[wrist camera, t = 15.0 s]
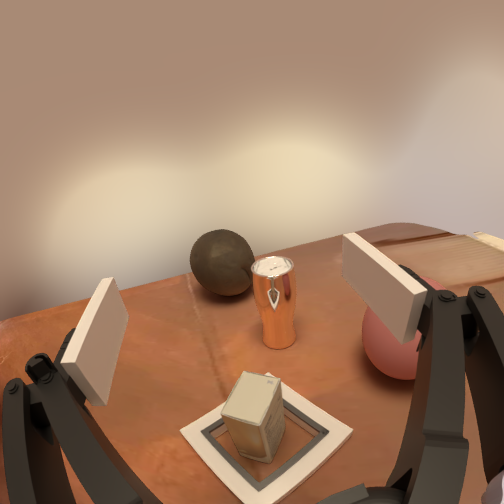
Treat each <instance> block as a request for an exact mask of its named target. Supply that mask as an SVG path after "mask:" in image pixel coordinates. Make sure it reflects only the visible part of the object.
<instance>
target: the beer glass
mask: <svg viewBox="0 0 504 504" xmlns="http://www.w3.org/2000/svg"><path fill="white" fill-rule="evenodd" d="M251 271H252V287H253V294H254V299H255V303H256V306H257V309H258V312H259V314H260V317H261V320H262V323H263V337H262V338H263V342H264V344H265V345H266V346H268V347H270V348H273V349H283V348H287V347H289V346H290V345H292V344H293V343H294V342H295V339H296V333H295V330H294V327H293V317H294V310H295V304H296V295H297V289H296V277H295V271H294V263H293V261H292V260H290V259H289V258H286V257H282V256H270V257H265V258H262V259H259V260H257V261H256V262H254V263H253V265H252V266H251Z"/></svg>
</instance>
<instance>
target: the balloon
mask: <svg viewBox="0 0 504 504" xmlns="http://www.w3.org/2000/svg"><path fill="white" fill-rule="evenodd" d="M420 278H422V279H423V280H425V281H426V282H427V283H428V284H429V285H431V286H432V287H433V288H434V289H436V290H446V289H445V288H444V287H443V286H442V285H441V284H439V283H438V282H436V281H434V280H432V279H430V278H427V277H422V276H420ZM421 335H422V334H421V333H420V332H419V331H418V330H417V331H416V335H415V338H414V340H412V341H409V342H407V343H405V344H402V345H401V344H400V342H399V341H398V340H397V339H396V338H395V336H394V335H393V334H392V333H391V332H390V330H389V329H388V328H387V327H386V326H385V325H384V323H383V322H382V321H381V320H380V319H379V318H378V316H377V315H376V314H375V313H374V312H373V311H372V309H371V308H370V307H369V306H368V307H367V310H366V312H365V315H364V319H363V324H362V340H363V345H364V348H365V351H366V354H367V356H368V357H369V359H370V361H371V362H372V363H373V365H374V366H375V367H376V368H377V369H379V370H380V371H381V372H383V373H384V374H386V375H388V376H390V377H393V378H396V379H403V380H411V379H415V377H416V370H417V362H418V353H419V351H418V352H416V350H417V347H418V344H419V341H420V338H421Z"/></svg>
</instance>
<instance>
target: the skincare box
mask: <svg viewBox="0 0 504 504" xmlns="http://www.w3.org/2000/svg"><path fill="white" fill-rule="evenodd" d="M220 414H221V416H222V418H223V421H224V423H225V425H226V427H227V429H228V431H229V433H230V435H231V438H232V440H233V442H234V444H235V446H236V448H237V450H238V452H239V454H240V455H241V456H244V457H247V458H250V459H253V460H256V461H260V462H263V463H267V464H270V463H271V462H272V460H273V458H274V456H275V453H276V451H277V449H278V446H279V444H280V441H281V439H282V436H283V433H284V431H285V419H284V409H283V399H282V389H281V379H280V378H276V377H272V376H267V375H262V374H258V373H253V372H247V371H244V372H243V373H242V374H241V376H240V378H239V379H238V381H237V383H236V384H235V386H234V388H233V390H232V392H231V393H230V395H229V397H228V399H227V401H226V403H225V405H224V406H223V409H222V410H221V412H220Z"/></svg>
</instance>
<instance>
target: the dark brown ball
mask: <svg viewBox="0 0 504 504" xmlns="http://www.w3.org/2000/svg"><path fill="white" fill-rule="evenodd" d="M254 262H255V259H254V256H253V252H252V250H251V248H250V246H249V245H248V243H247V242H246V240H245V239H244V238H243V237H241V236H240V235H238V234H236V233H234V232H232V231H229V230H224V229H221V230H215V231H211V232H208V233H206V234H204V235H202V236H201V237H200V238H199V239H198V240H197V241H196V242H195V244H194V246H193V248H192V250H191V254H190V265H191V269H192V272H193V274H194V276H195V277H196V279H197V280H198V282H199V283H200V284H201V285H202V286H203V287H205V288H206V289H208V290H210V291H211V292H214V293H216V294H219V295H224V296H233V295H238V294H240V293H242V292H244V291H245V290H246V289H247V288H248V287H249V286H250V285H251V283H252V271H251V266H252V265H253V263H254Z"/></svg>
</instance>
